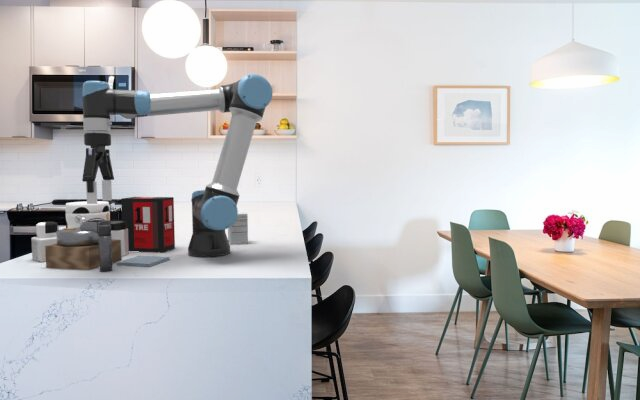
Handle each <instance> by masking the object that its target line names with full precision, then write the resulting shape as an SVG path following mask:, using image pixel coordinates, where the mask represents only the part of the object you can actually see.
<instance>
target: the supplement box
mask: <svg viewBox="0 0 640 400" xmlns="http://www.w3.org/2000/svg"><path fill="white" fill-rule="evenodd" d="M248 217H249V216H248V213H247V212H245V211H238V214H237V218H236V221H235V222H234V223H233V225H232V226H230V227H229V228H227V239H228V241H229V244H230V246H235V245H237V246H238V245H248V244H249V226H248V225H249V224H248V223H249V222H248V221H249V218H248Z"/></svg>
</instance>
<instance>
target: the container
mask: <svg viewBox="0 0 640 400" xmlns="http://www.w3.org/2000/svg"><path fill="white" fill-rule="evenodd" d="M35 226H36V227H35V230H36V231H35V232H36V236H33V237H31V238H30V239H31V255H32V258H31V259H32V260H33V261H37V262H40V263H46V252H45V246H47V245H52V244H56V243H57V235H56V231H58V230H59V227H58V226H59V224H58V222H55V221H43V222H38V223H37V224H35Z"/></svg>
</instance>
